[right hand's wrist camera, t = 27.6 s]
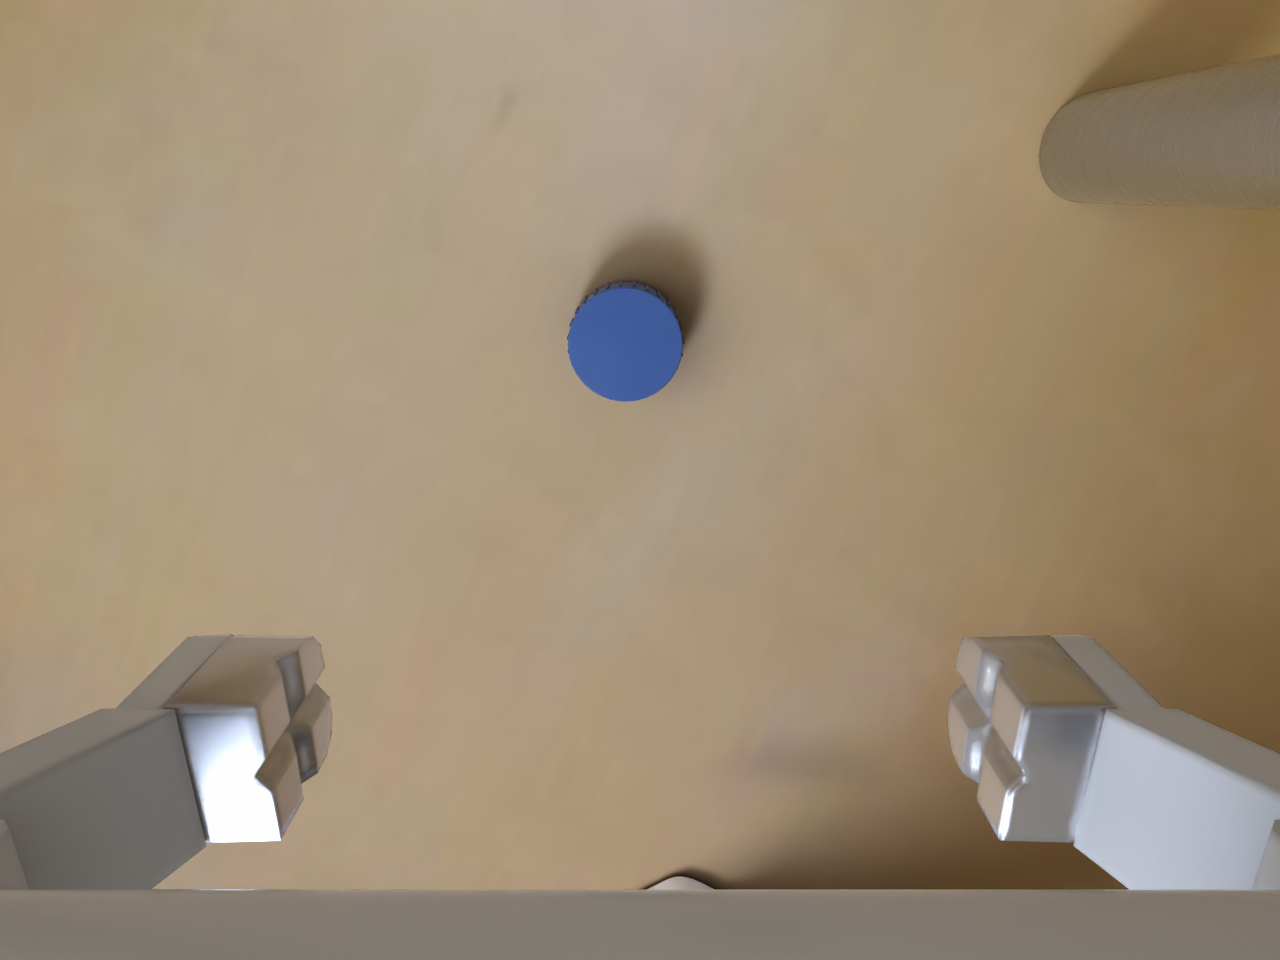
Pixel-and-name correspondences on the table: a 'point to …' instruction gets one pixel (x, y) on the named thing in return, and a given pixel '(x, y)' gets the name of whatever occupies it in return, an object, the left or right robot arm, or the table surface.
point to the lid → (625, 341)
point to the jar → (1172, 141)
